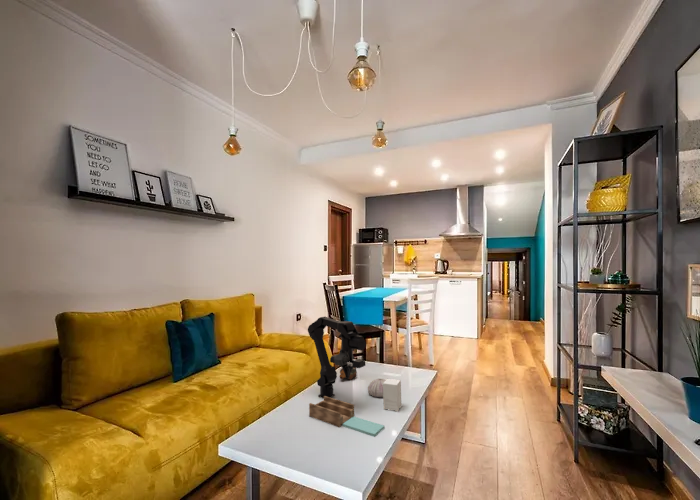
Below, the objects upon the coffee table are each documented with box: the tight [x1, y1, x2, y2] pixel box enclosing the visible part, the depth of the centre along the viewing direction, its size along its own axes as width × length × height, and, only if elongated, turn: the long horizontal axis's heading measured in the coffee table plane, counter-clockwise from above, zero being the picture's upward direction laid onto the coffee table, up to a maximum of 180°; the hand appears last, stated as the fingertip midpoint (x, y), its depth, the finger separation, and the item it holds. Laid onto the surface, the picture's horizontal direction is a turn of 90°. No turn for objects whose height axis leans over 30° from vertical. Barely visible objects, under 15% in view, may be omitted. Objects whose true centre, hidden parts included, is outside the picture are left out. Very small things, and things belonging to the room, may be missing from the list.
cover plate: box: [342, 415, 385, 438], centre depth 140 cm, size 16×9×2 cm, turn 55°
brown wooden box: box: [308, 396, 355, 428], centre depth 150 cm, size 18×11×6 cm, turn 53°
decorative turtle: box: [339, 367, 358, 381], centre depth 201 cm, size 10×15×8 cm, turn 148°
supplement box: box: [382, 378, 402, 412], centre depth 159 cm, size 7×7×13 cm
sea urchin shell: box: [367, 378, 386, 398], centre depth 176 cm, size 13×14×8 cm
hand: (347, 378), depth 163 cm, fingers closed
